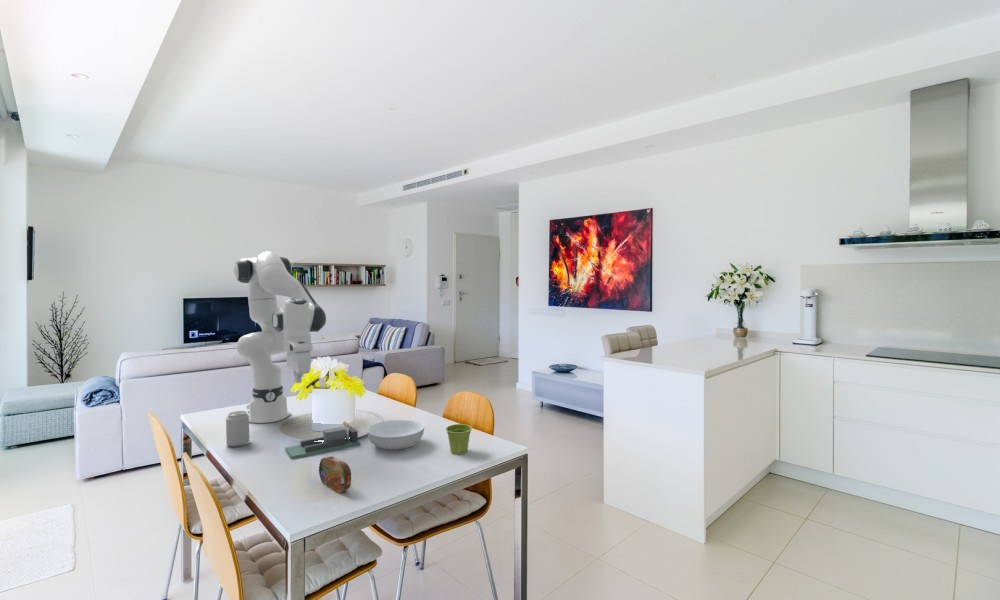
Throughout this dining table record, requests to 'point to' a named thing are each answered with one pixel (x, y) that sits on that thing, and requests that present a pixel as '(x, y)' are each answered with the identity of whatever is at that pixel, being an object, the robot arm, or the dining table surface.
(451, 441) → the plant pot
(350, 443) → the header board
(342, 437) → the plug
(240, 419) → the can
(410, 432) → the serving bowl
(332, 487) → the tin
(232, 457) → the dining table surface
